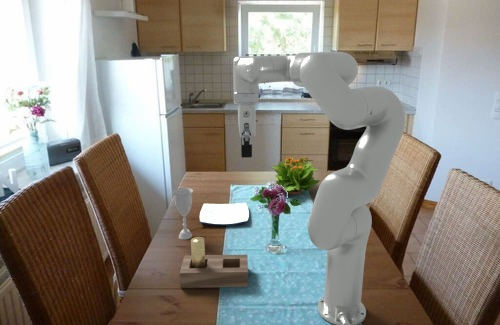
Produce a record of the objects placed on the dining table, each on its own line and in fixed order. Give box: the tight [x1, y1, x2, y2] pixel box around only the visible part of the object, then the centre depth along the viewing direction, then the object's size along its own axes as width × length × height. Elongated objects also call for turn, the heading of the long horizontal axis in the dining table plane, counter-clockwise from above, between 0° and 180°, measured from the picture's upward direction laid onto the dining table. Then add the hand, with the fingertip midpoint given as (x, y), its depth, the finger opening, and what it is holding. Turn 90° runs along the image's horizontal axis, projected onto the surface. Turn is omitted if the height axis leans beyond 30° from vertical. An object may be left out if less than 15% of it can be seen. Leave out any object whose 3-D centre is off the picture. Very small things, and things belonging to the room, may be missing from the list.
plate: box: [199, 202, 250, 227], centre depth 165 cm, size 20×20×3 cm
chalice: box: [172, 187, 194, 240], centre depth 146 cm, size 7×7×18 cm
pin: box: [190, 236, 206, 268], centre depth 120 cm, size 4×4×12 cm
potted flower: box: [270, 156, 320, 195], centre depth 193 cm, size 25×24×18 cm
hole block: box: [179, 254, 249, 289], centre depth 122 cm, size 10×20×5 cm, turn 91°
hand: (246, 152), depth 125 cm, fingers open, 9 cm apart
